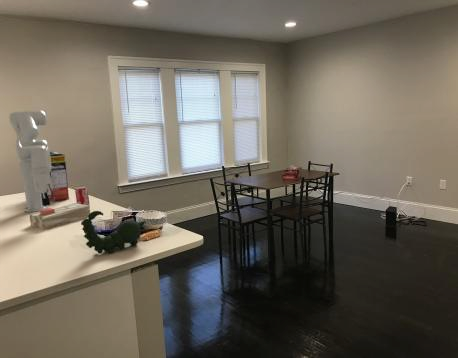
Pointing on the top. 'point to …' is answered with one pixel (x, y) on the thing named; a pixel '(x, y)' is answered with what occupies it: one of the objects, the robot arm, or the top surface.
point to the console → (60, 216)
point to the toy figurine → (124, 234)
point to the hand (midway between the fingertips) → (46, 205)
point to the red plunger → (47, 211)
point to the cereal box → (58, 177)
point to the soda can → (82, 196)
